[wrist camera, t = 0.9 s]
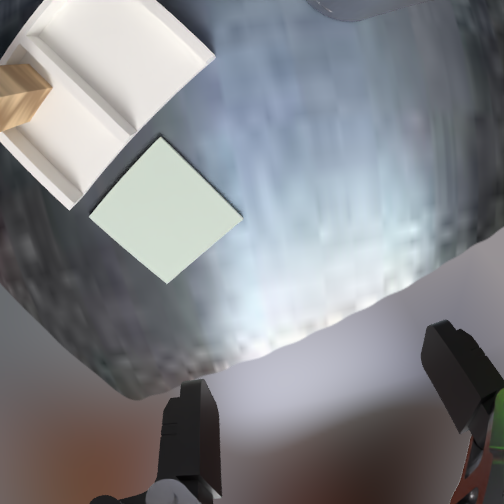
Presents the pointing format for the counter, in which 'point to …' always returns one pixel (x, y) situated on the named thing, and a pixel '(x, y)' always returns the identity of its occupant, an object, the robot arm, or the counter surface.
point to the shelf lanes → (96, 84)
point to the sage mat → (165, 212)
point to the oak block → (20, 94)
